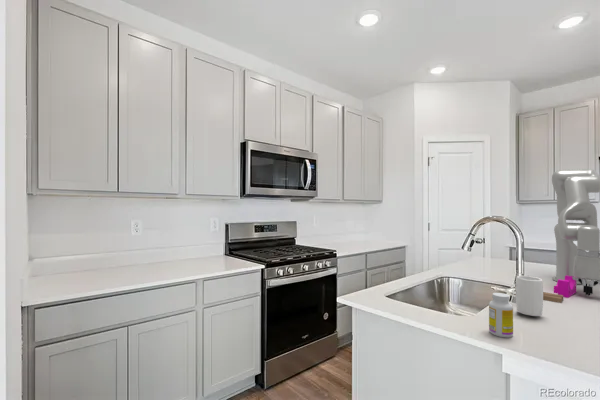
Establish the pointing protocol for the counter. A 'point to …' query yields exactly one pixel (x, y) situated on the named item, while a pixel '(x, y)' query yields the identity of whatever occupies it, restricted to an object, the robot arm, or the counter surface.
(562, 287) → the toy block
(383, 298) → the counter surface
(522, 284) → the cup
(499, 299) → the supplement bottle
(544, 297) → the plank
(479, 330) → the counter surface
